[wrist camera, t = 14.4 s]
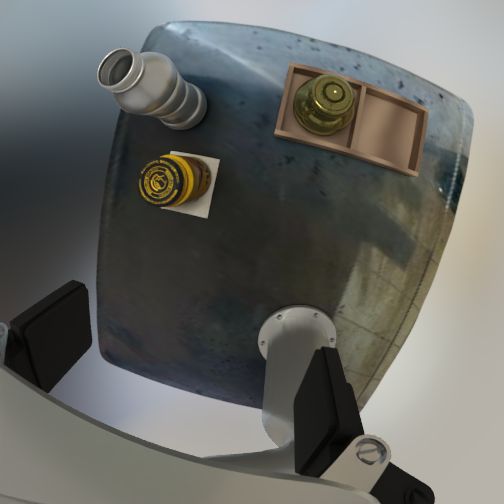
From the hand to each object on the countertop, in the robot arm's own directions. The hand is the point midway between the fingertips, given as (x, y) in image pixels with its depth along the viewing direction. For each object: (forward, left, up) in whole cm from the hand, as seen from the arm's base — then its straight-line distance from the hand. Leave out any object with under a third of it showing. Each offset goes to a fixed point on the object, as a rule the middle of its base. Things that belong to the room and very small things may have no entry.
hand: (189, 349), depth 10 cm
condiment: (+9, +5, -31) cm, 32 cm away
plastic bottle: (+18, -1, -31) cm, 35 cm away
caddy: (+4, -19, -30) cm, 36 cm away
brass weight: (+7, -15, -30) cm, 34 cm away
